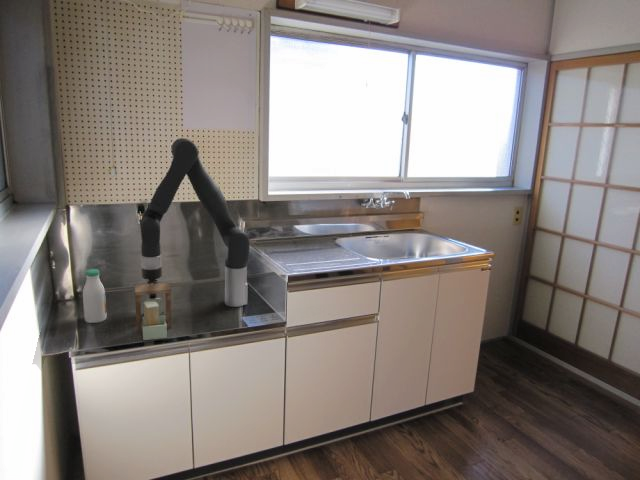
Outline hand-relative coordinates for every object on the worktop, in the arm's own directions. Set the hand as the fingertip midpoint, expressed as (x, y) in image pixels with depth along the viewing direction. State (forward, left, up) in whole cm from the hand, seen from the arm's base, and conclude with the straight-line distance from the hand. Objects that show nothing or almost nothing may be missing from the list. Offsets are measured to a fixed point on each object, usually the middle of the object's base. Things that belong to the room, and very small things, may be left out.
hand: (153, 305), depth 186 cm
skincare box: (+1, +19, -3) cm, 20 cm away
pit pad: (0, +3, -3) cm, 5 cm away
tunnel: (0, +12, -3) cm, 13 cm away
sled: (0, +14, -3) cm, 14 cm away
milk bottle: (+21, +1, -3) cm, 21 cm away
